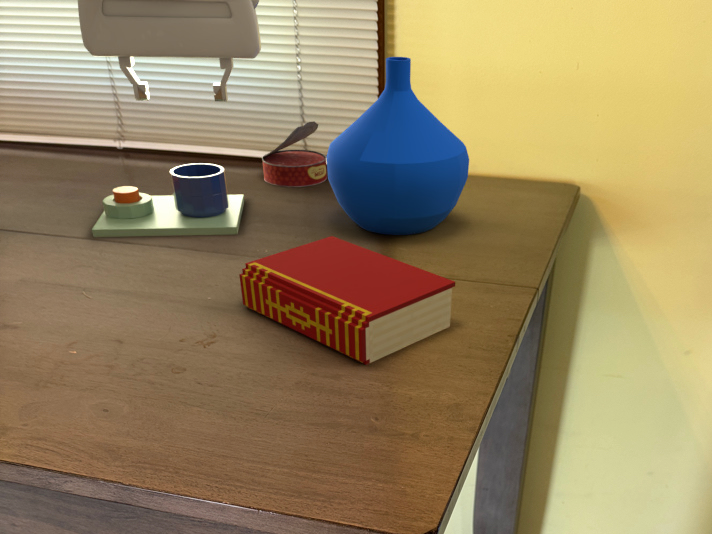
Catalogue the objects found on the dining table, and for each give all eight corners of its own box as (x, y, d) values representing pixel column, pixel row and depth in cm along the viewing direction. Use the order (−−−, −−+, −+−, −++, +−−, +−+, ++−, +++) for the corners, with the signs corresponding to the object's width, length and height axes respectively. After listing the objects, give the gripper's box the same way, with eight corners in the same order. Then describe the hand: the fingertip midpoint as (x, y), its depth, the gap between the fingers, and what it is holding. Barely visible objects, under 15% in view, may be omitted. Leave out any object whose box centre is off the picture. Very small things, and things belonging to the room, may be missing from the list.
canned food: (288, 219, 117) (253, 161, 109) (271, 193, 124) (238, 137, 116) (349, 178, 116) (319, 117, 109) (329, 154, 123) (299, 95, 115)
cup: (173, 219, 98) (166, 178, 95) (180, 203, 103) (173, 163, 100) (227, 218, 99) (221, 177, 95) (231, 202, 104) (226, 162, 101)
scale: (94, 241, 96) (88, 216, 94) (115, 206, 106) (110, 184, 104) (238, 238, 97) (234, 213, 95) (244, 204, 108) (242, 182, 106)
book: (244, 312, 80) (238, 265, 76) (333, 280, 87) (331, 236, 83) (362, 371, 70) (361, 320, 67) (452, 329, 77) (455, 281, 74)
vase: (366, 257, 92) (362, 77, 80) (308, 215, 105) (297, 52, 92) (491, 235, 99) (505, 65, 87) (423, 197, 111) (427, 43, 99)
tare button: (113, 205, 98) (110, 193, 97) (117, 198, 101) (115, 186, 100) (138, 205, 98) (135, 192, 97) (142, 198, 101) (139, 185, 100)
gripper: (258, -41, 87) (268, 96, 96) (74, -46, 85) (103, 94, 94) (255, -38, 82) (266, 106, 91) (60, -43, 80) (92, 104, 89)
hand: (182, 100), depth 93 cm, fingers open, 8 cm apart
